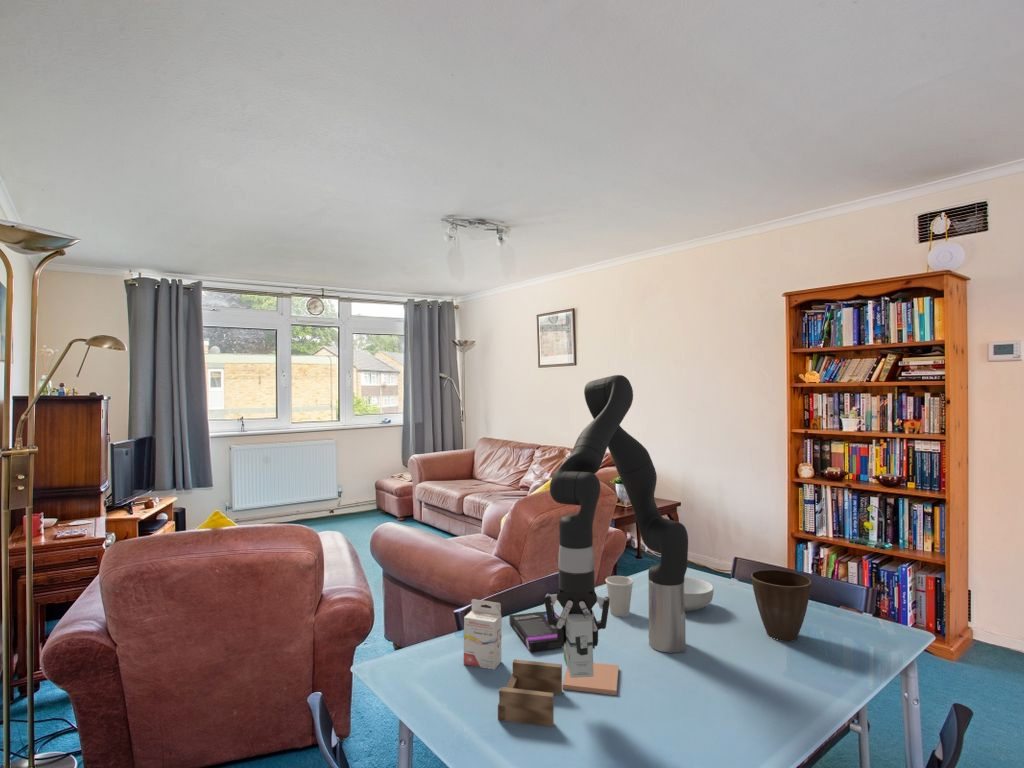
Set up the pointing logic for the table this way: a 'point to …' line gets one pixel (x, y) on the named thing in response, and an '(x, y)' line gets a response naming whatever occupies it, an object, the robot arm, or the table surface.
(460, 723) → the table surface
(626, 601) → the dixie cup
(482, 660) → the ink cartridge box
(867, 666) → the table surface
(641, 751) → the table surface
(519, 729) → the table surface
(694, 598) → the cereal bowl
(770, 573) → the plant pot
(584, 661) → the ink box
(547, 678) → the walnut slot rack
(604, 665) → the terracotta tile
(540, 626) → the box
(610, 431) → the robot arm
